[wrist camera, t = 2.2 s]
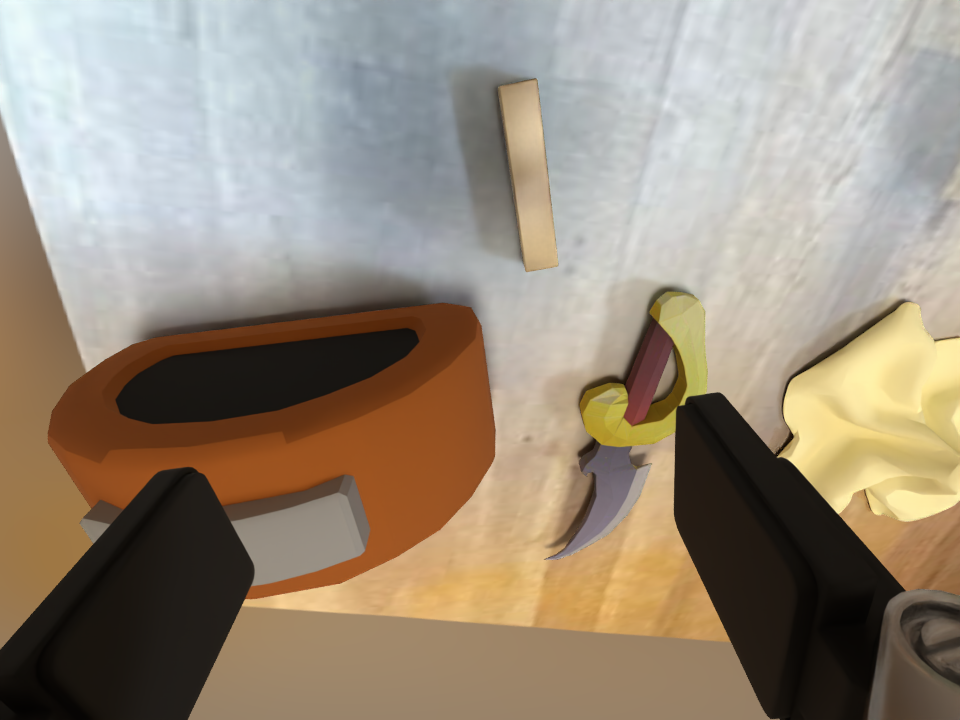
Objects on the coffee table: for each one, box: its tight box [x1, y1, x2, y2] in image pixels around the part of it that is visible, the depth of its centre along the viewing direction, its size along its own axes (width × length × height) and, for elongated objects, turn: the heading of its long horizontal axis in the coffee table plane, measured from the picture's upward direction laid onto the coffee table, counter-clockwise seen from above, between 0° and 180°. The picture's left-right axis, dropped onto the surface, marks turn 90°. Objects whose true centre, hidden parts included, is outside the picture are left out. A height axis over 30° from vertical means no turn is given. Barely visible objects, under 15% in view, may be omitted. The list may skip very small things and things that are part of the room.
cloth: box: [777, 302, 960, 522], centre depth 35 cm, size 22×19×6 cm
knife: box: [544, 292, 708, 560], centre depth 36 cm, size 8×3×25 cm
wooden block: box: [498, 78, 558, 272], centre depth 28 cm, size 10×2×2 cm, turn 10°
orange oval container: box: [48, 303, 496, 599], centre depth 27 cm, size 23×9×17 cm, turn 97°
